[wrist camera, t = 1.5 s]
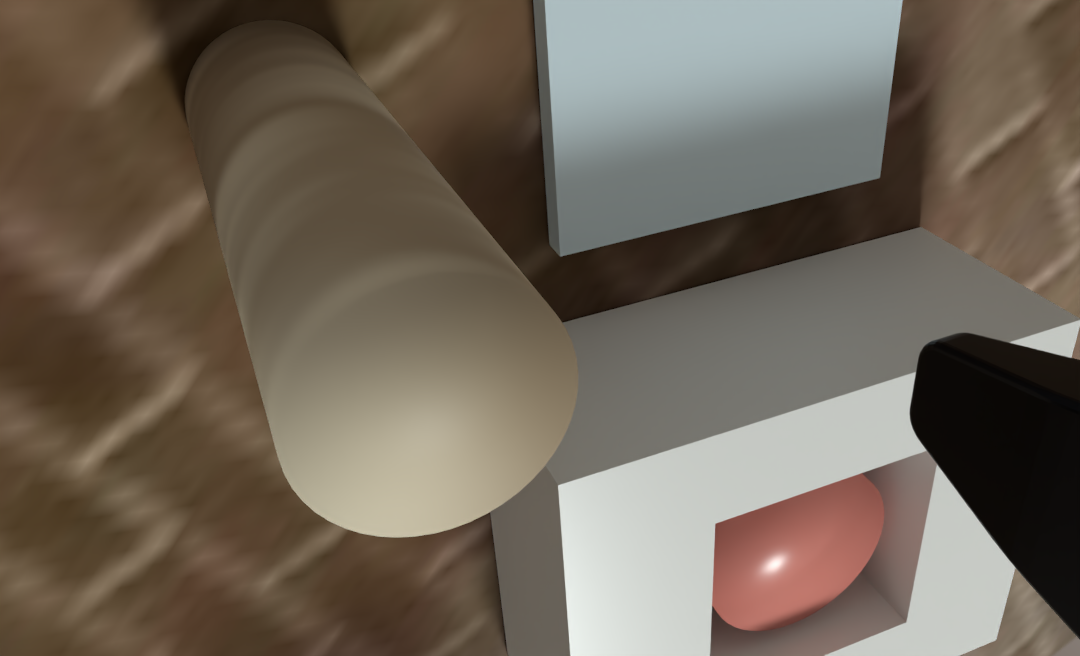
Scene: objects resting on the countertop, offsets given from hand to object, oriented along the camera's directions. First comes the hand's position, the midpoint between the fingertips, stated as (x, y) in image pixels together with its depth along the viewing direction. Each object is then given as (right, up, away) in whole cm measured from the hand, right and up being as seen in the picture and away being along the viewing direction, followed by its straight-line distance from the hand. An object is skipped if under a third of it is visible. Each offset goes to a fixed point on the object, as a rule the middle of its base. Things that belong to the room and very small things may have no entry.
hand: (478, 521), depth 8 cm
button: (+6, -3, +16) cm, 17 cm away
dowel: (-4, +6, +9) cm, 12 cm away
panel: (+5, -2, +18) cm, 18 cm away
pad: (+4, +7, +12) cm, 15 cm away
